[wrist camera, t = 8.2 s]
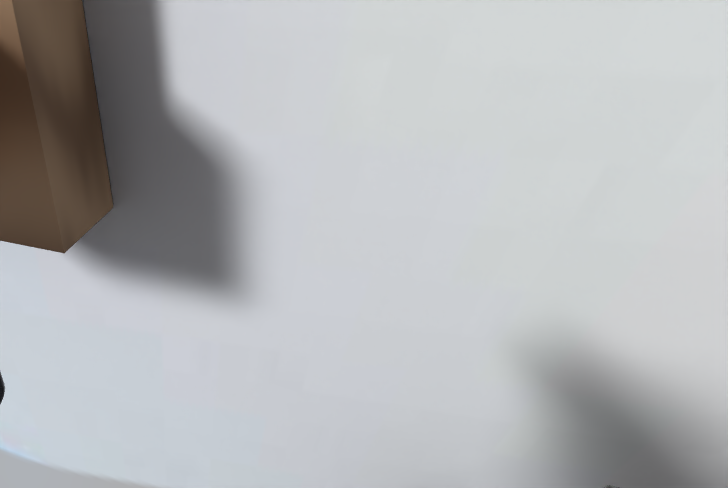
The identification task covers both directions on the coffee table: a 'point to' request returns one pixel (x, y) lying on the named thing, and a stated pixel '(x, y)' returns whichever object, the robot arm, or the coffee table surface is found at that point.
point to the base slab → (49, 127)
